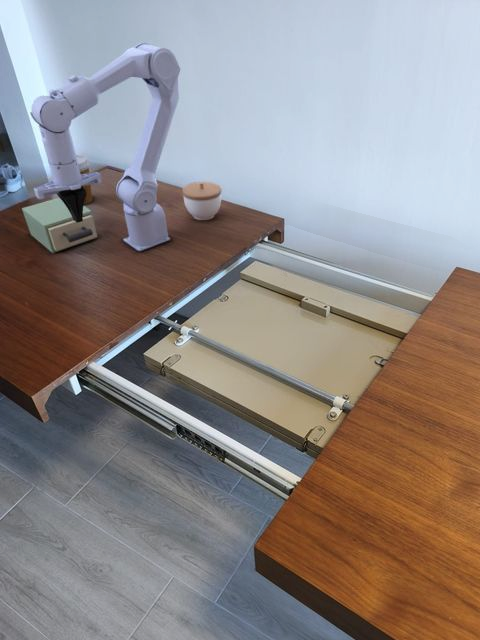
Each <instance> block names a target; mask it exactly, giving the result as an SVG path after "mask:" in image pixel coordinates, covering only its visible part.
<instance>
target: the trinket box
mask: <svg viewBox="0 0 480 640" xmlns="http://www.w3.org/2000/svg"><path fill="white" fill-rule="evenodd" d="M181 190H182V191H181V192H182V197H183V203H184V206H185V208H186V211H187V212H188V213H189V214H190V215H191V216H192V217H193V218H194V219H196V220H199V221H209V220H211V219H213V218H215V215H216V214H217V213H218V212H219V210H220V209H221V205H222V187H221V185H219V184H217V183H215V182H212V181H211V182H210V181H196V182H192V183H188V184H186V185H185V186H183V188H182V189H181Z"/></svg>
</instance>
